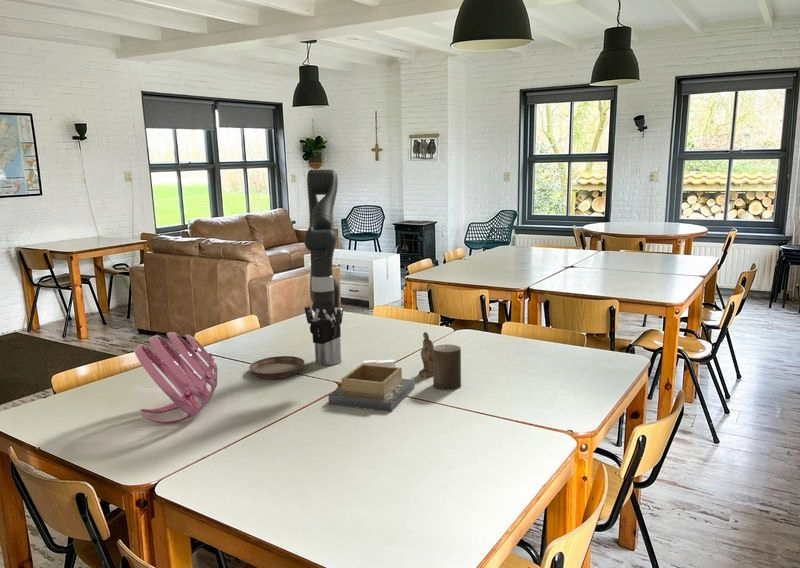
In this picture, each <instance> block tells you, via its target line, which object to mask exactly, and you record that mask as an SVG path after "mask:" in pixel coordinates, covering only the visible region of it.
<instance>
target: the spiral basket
mask: <svg viewBox="0 0 800 568" xmlns="http://www.w3.org/2000/svg"><path fill="white" fill-rule="evenodd" d="M166 336H167V337H168V339H169V340H170V342H171V344H172V345H173V346H174V347H175V348H173V346H172V345H170V343H168V341H166V340H165V339H164V338H163V337H161V336H160V335H158V334H157V335H152V336H151V337H149V338H148V339H149V340H148V341H149V344H150V345H151V347H152V348H153V350H154V351H155V352H156V353H155V352H154V351H153V350H152V349H151V348H149V347H148V346H146V345H145V344H142V343H140V344H138V345H137V346H136V347H135V348H134V354H135V357H136V358H137V360H138V362H139V363H140V365H141V366H142V367H143V369H144V370H145V371H146V373H147V374H148V375H149V376H150V377H151V379H152V380H153V382H154V383H155V384H156V385H157V386H158V387H159V388H160V389H161V390H162V392H163V393H164V394H165V395H166V396H167V397H168V398H169V399H170V400H171V401H172V403H170V404H168V405H164V406H162V407H158V408H154V409H153V408H151V409H150V408H148V409H146V408H145V409H144V408H141V409H140V410H139V412H141V413H140V416H142V417H143V418H144V419H147V420H149V421H151V422H155V423H158V424H159V423H160V424H174V423H180V422H183V421H185V420H187V419H191V418H192V417H195V416H196V415H198V414H199V413H200V412H201V410H203V409H204V408H205V406H206V405H208V404H209V403H210V402H211V400H212V397H213V395H214V392H215V389H216V388H217V386H218V369H219V368H218V365H217V362H216V360H215V357H214V356H213V353H212V352H208V351H207V350H206V349H205V348H204V346H203V345H202V344H201V343H200V342H199V341H198V340H197V339H196V338H195V337H194V336H192V335H190V334H184V337H185V339H186V340H187V341H188V342H189V343H188V342H186V340H184V338H182V337H181V335H180V334H178V333H176V332H174V331H169V332H167V333H166ZM189 344H190V345H189ZM191 346H192V347H193V348H192V347H191ZM176 350H177V351H176ZM178 352H179V353H178ZM204 361H205V362H206V363H205V362H204ZM155 366H156V367H157V368H156V367H155ZM158 369H159V370H158ZM160 372H161V373H162V374H163V375H164V376H165V377H166V378H167V379H168V380H169V382H170V383H171V384H172V385H173V386H174V387H175V389H176V390H177V391H178V392H177V391H176V390H175V389H174V388H173V387H172V386H171V384H170V383H169V382H168V381H167V380H166V379H165V378H164V376H162V374H161V373H160ZM207 384H208V385H209V386H210V387H211V388H210V390H209V388H208V387H207ZM179 393H180V394H179ZM196 398H197V399H198V400H199V401H200V402H201V404H200V405H199V404H198V402H197V400H196ZM177 408H180V409H181V410H182V411H183V412H185V413H186V415H185V416H183V417H182V416H181V417H178V418H175V419H158V418H154V417H151V416H149V415H147V414H145V413H149V414H157V413H164V412H168V411H172V410H175V409H177Z"/></svg>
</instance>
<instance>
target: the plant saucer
mask: <svg viewBox="0 0 800 568" xmlns="http://www.w3.org/2000/svg"><path fill="white" fill-rule="evenodd" d="M304 364H305V360H304V359H303V358H302V357H298V356H293V355H291V356H290V355H280V356H279V355H277V356H270V357H266V358H265V357H264V358H262V359H258V360H256V361H254V362H252V363H250V365H249V367H248V369H249V370H250V372H251V373H253V375H255V376H256V377H259V378H261V379H267V378H269V380H270V379H274V378H276V379H282V378H283V377H284V378H288V377H291V376H294V375H296V374H297V373H299V372H300V371H301V369H303V366H304ZM274 380H275V379H274Z"/></svg>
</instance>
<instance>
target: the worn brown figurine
mask: <svg viewBox="0 0 800 568" xmlns="http://www.w3.org/2000/svg"><path fill="white" fill-rule="evenodd" d="M433 343H434V342H433V341H432V340H431V339H430V337H429V334H428V332H426V331H424V332H423V340H422V348H421V350H420V356H421V360H422V363H423V368H422V369H421V370H419V372H418V376H420V375H422V377H424V376H425V377H424V378H429V377H432V376H433V347H435V346H434V344H433Z"/></svg>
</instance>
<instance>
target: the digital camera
mask: <svg viewBox="0 0 800 568" xmlns="http://www.w3.org/2000/svg"><path fill="white" fill-rule="evenodd" d="M330 318H331V317H330ZM335 320H336V317H335ZM332 321H333V320H332ZM330 327H331V326H330V322H328V321H327V318H324V319H322V320H319V321H317V322H316V321H313V322H312V323H311V324H310V325H309V332H310V333H311V334H312V343H314V344H315V343H318V344H325V343H327V342H329V341H332V340H334V339H336V338H338V337H340V338H341V333H342V332H341V324H340V325H339V326H336V331H337V334H336V336H335V337H334V338H331V332H330Z"/></svg>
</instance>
